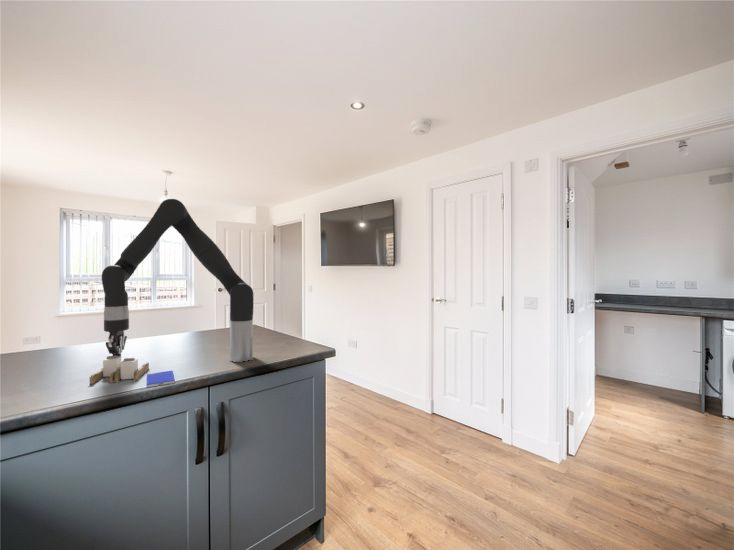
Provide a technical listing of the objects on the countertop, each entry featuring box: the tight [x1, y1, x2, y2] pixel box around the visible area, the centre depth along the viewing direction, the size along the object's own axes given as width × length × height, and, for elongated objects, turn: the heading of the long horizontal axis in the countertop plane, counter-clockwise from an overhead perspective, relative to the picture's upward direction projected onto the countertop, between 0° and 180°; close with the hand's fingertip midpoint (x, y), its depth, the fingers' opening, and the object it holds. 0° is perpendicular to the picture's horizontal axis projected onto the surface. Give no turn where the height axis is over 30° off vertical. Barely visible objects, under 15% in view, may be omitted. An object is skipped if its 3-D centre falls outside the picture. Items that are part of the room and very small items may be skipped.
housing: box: [89, 367, 121, 385], centre depth 117 cm, size 6×14×3 cm, turn 19°
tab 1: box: [102, 355, 122, 378], centre depth 119 cm, size 4×4×7 cm
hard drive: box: [146, 370, 176, 388], centre depth 115 cm, size 2×8×12 cm
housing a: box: [114, 362, 150, 383], centre depth 119 cm, size 6×14×3 cm, turn 19°
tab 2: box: [120, 357, 139, 381], centre depth 116 cm, size 4×4×7 cm
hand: (116, 363), depth 123 cm, fingers closed
